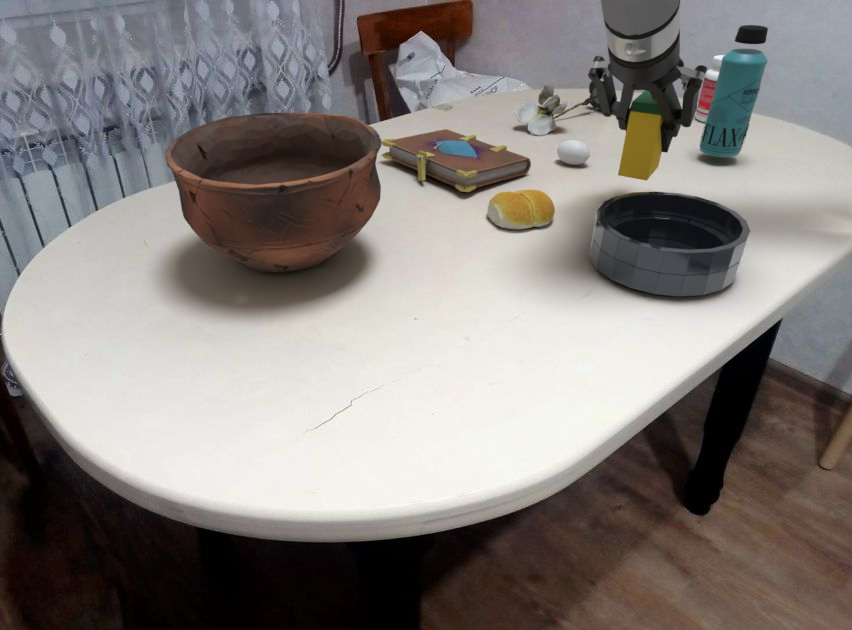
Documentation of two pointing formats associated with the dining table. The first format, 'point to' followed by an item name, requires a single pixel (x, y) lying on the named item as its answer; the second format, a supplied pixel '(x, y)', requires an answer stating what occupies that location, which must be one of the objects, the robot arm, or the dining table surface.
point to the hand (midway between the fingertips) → (650, 140)
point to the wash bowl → (668, 243)
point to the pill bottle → (708, 89)
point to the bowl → (277, 185)
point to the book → (456, 159)
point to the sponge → (642, 139)
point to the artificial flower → (549, 109)
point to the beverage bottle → (735, 95)
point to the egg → (573, 152)
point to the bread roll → (521, 209)
